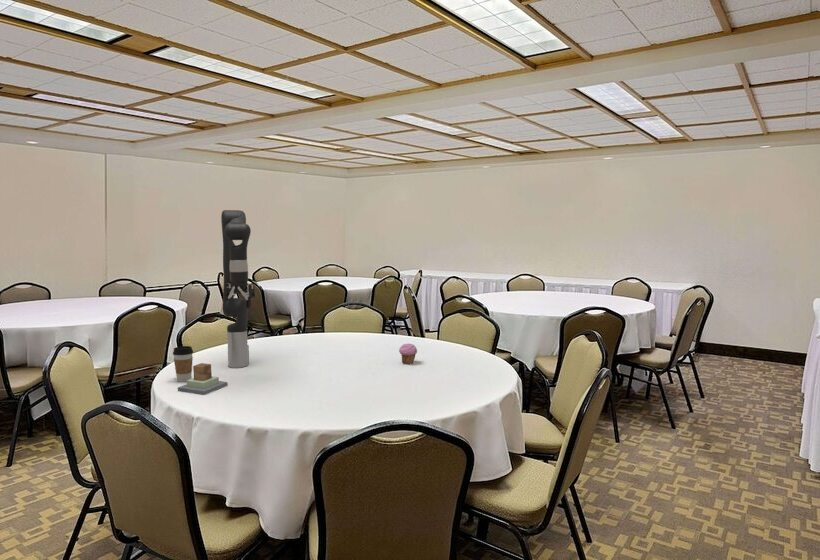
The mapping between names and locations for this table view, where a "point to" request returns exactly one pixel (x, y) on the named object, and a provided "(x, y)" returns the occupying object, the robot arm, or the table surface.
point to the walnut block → (202, 372)
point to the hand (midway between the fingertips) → (240, 307)
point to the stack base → (202, 391)
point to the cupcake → (408, 353)
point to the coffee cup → (183, 363)
